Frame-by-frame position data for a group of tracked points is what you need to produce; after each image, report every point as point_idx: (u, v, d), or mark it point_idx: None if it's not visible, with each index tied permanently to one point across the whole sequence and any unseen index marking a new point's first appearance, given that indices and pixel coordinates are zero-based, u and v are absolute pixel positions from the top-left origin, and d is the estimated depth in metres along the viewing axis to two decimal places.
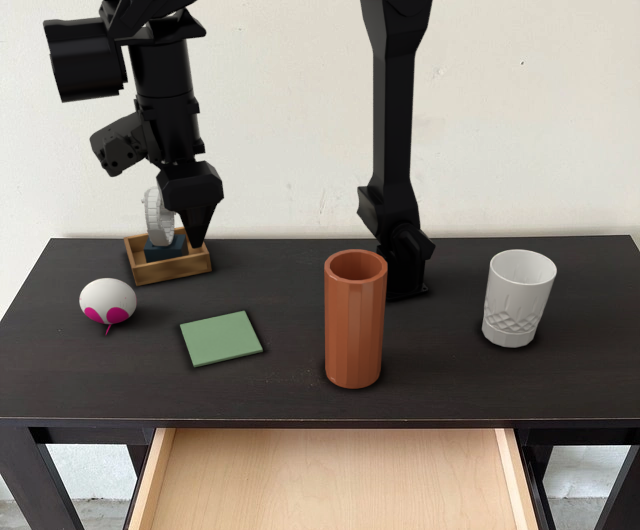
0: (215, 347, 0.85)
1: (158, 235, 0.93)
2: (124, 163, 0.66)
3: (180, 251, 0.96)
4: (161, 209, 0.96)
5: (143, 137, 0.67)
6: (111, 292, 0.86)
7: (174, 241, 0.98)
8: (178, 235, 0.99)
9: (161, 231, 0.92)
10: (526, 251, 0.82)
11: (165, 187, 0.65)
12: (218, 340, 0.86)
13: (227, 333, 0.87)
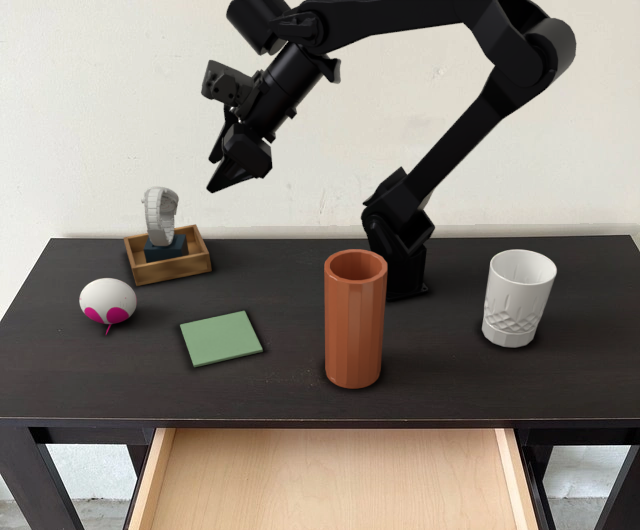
0: (215, 347, 0.85)
1: (158, 235, 0.93)
2: (222, 96, 0.79)
3: (180, 251, 0.96)
4: (161, 209, 0.96)
5: (246, 95, 0.81)
6: (111, 292, 0.86)
7: (174, 241, 0.98)
8: (178, 235, 0.99)
9: (161, 231, 0.92)
10: (526, 251, 0.82)
11: (237, 135, 0.78)
12: (218, 340, 0.86)
13: (227, 333, 0.87)
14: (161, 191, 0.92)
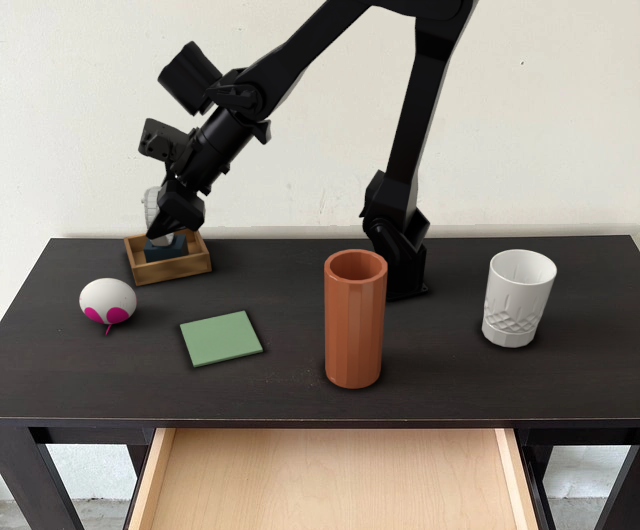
0: (215, 347, 0.85)
1: None
2: (156, 155, 0.84)
3: (180, 251, 0.96)
4: None
5: (181, 153, 0.86)
6: (111, 292, 0.86)
7: (174, 241, 0.98)
8: (178, 235, 0.99)
9: None
10: (526, 251, 0.82)
11: (169, 193, 0.83)
12: (218, 340, 0.86)
13: (227, 333, 0.87)
14: None
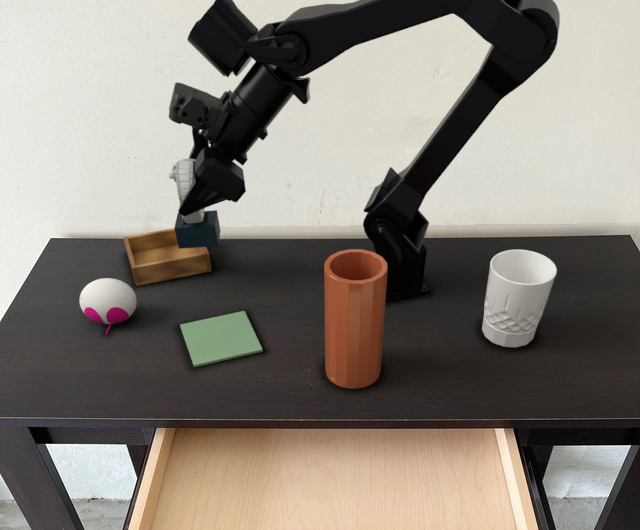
0: (215, 347, 0.85)
1: None
2: (191, 120, 0.78)
3: (214, 228, 0.90)
4: None
5: (215, 118, 0.80)
6: (111, 292, 0.86)
7: (205, 218, 0.92)
8: (209, 212, 0.92)
9: None
10: (526, 251, 0.82)
11: (208, 160, 0.77)
12: (218, 340, 0.86)
13: (227, 333, 0.87)
14: (192, 163, 0.85)
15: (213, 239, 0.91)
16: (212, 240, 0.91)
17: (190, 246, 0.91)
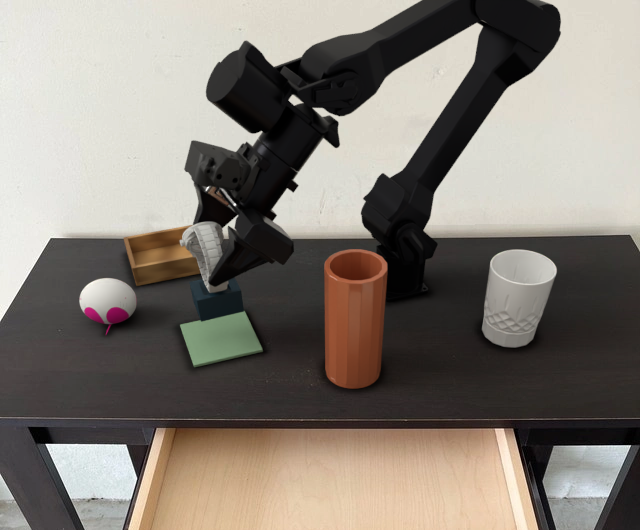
0: (215, 347, 0.85)
1: None
2: (226, 182, 0.68)
3: (240, 293, 0.80)
4: None
5: (245, 175, 0.71)
6: (111, 292, 0.86)
7: None
8: None
9: None
10: (526, 251, 0.82)
11: (258, 224, 0.68)
12: (218, 340, 0.86)
13: (227, 333, 0.87)
14: (213, 226, 0.75)
15: (239, 305, 0.81)
16: (237, 306, 0.81)
17: (213, 317, 0.81)
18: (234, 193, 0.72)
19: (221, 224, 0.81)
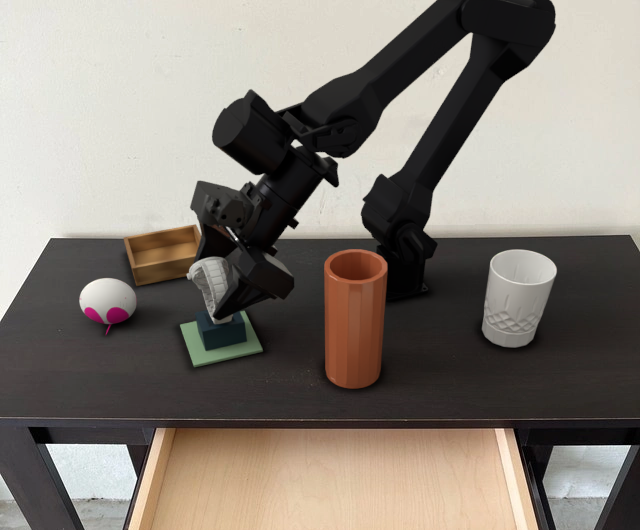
0: None
1: None
2: (230, 222, 0.72)
3: (244, 324, 0.84)
4: None
5: (249, 214, 0.74)
6: (111, 292, 0.86)
7: None
8: None
9: None
10: (526, 251, 0.82)
11: (260, 262, 0.71)
12: None
13: None
14: (219, 262, 0.79)
15: (242, 335, 0.85)
16: (241, 336, 0.85)
17: (218, 346, 0.85)
18: (237, 231, 0.75)
19: (223, 255, 0.84)
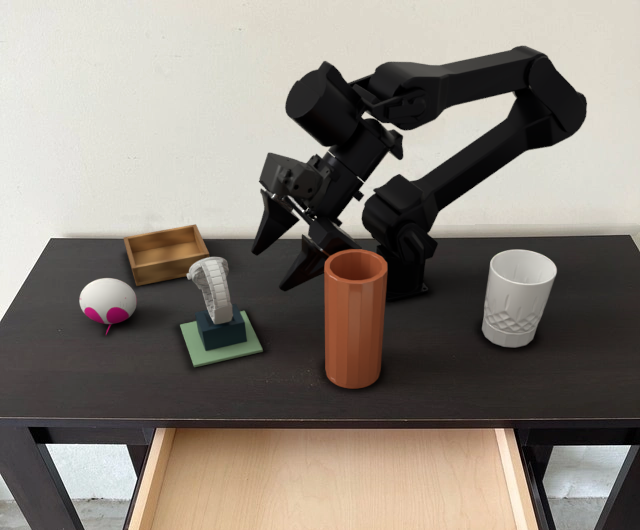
0: None
1: (225, 312, 0.80)
2: (301, 192, 0.73)
3: (244, 324, 0.84)
4: None
5: (318, 186, 0.75)
6: (111, 292, 0.86)
7: None
8: None
9: (230, 307, 0.79)
10: (526, 251, 0.82)
11: (332, 232, 0.73)
12: None
13: None
14: (219, 262, 0.79)
15: (242, 335, 0.85)
16: (241, 336, 0.85)
17: (218, 346, 0.85)
18: (306, 202, 0.76)
19: (284, 229, 0.86)
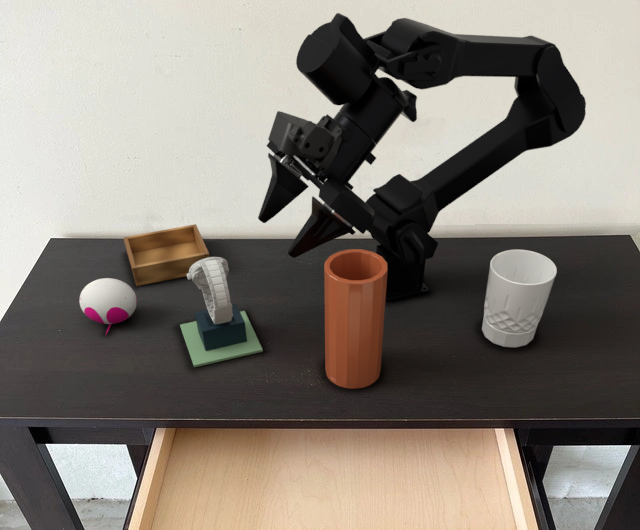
0: None
1: (225, 312, 0.80)
2: (312, 151, 0.70)
3: (244, 324, 0.84)
4: None
5: (329, 146, 0.73)
6: (111, 292, 0.86)
7: None
8: None
9: (230, 307, 0.79)
10: (526, 251, 0.82)
11: (344, 192, 0.70)
12: None
13: None
14: (219, 262, 0.79)
15: (242, 335, 0.85)
16: (241, 336, 0.85)
17: (218, 346, 0.85)
18: (317, 163, 0.74)
19: (292, 196, 0.83)
